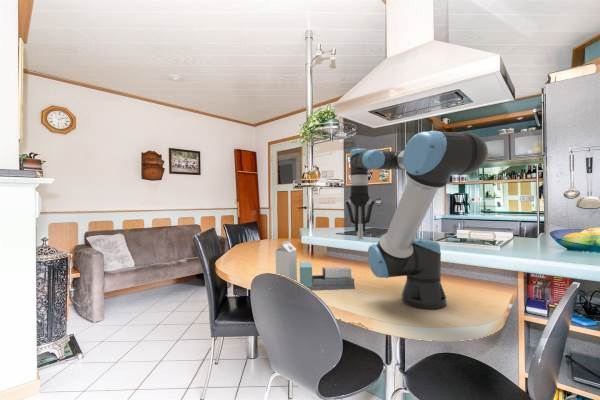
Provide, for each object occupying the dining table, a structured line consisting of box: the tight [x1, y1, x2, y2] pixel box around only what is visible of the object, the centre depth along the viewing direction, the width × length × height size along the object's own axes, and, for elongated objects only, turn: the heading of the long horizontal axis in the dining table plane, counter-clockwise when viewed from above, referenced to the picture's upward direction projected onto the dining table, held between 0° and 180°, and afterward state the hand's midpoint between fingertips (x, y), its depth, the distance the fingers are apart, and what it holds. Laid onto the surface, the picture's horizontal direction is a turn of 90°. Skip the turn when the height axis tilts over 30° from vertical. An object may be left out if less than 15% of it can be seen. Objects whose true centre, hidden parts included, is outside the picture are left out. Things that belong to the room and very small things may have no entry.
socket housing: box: [299, 261, 313, 287], centre depth 130 cm, size 9×5×8 cm, turn 1°
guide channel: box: [307, 274, 356, 291], centre depth 130 cm, size 9×23×4 cm, turn 91°
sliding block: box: [321, 266, 352, 279], centre depth 130 cm, size 4×12×6 cm, turn 91°
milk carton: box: [275, 240, 298, 282], centre depth 137 cm, size 7×7×19 cm
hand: (360, 239), depth 130 cm, fingers closed
